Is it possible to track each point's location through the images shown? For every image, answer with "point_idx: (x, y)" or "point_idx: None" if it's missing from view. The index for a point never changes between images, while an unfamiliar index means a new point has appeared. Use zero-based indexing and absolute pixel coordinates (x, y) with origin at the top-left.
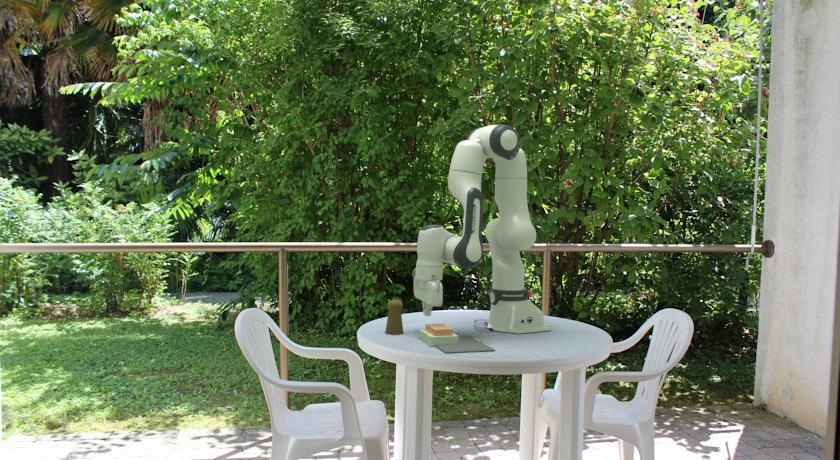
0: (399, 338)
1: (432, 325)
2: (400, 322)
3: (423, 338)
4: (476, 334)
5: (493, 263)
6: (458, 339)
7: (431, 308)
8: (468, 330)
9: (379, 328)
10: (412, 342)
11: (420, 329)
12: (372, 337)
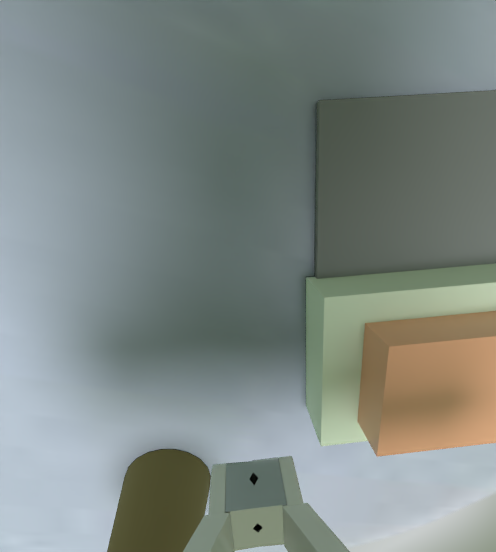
0: None
1: (429, 426)
2: (186, 529)
3: None
4: (241, 7)
5: None
6: (412, 224)
7: (334, 540)
8: (78, 21)
9: (65, 522)
10: None
11: (327, 441)
12: (254, 548)
